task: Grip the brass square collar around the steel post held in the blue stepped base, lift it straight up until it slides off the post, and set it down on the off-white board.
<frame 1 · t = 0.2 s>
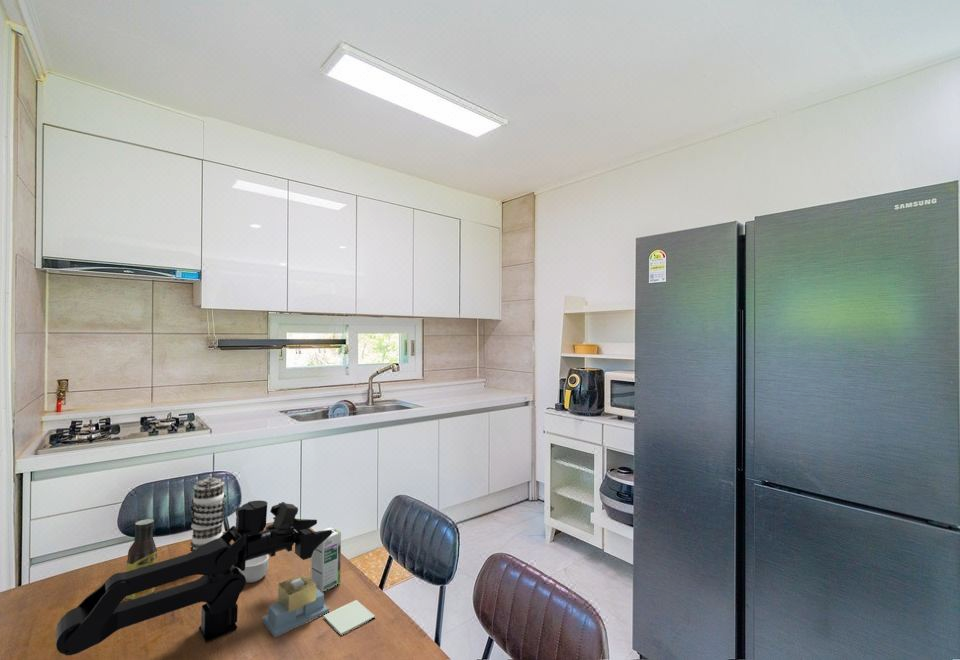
hand: (323, 526, 118), 16 cm above the table, tool horizontal, fingers open, 9 cm apart
syrup box: (325, 585, 119), on the table
teacup: (255, 577, 122), on the table
blue stepped base: (296, 616, 105), on the table
white patterned cylinder: (206, 563, 129), on the table
brass collar: (296, 600, 105), point 4 cm above the table, touching blue stepped base
off-white board: (349, 618, 105), on the table
sauce bottle: (140, 600, 111), on the table
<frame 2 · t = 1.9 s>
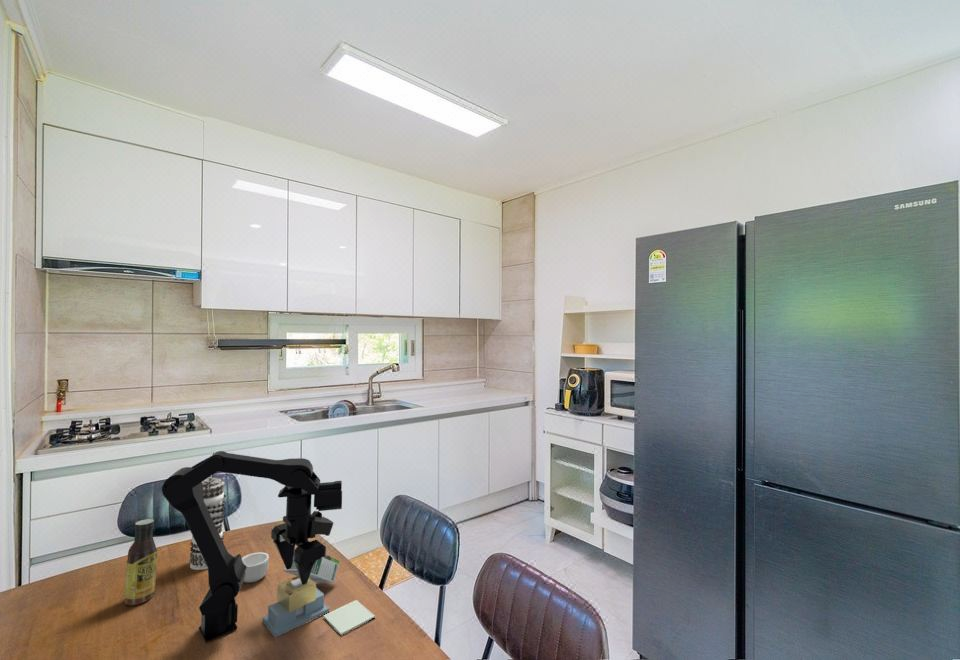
hand: (296, 575, 105), 10 cm above the table, tool pointing down, fingers open, 9 cm apart
syrup box: (329, 572, 120), point 3 cm above the table
everything else where it was.
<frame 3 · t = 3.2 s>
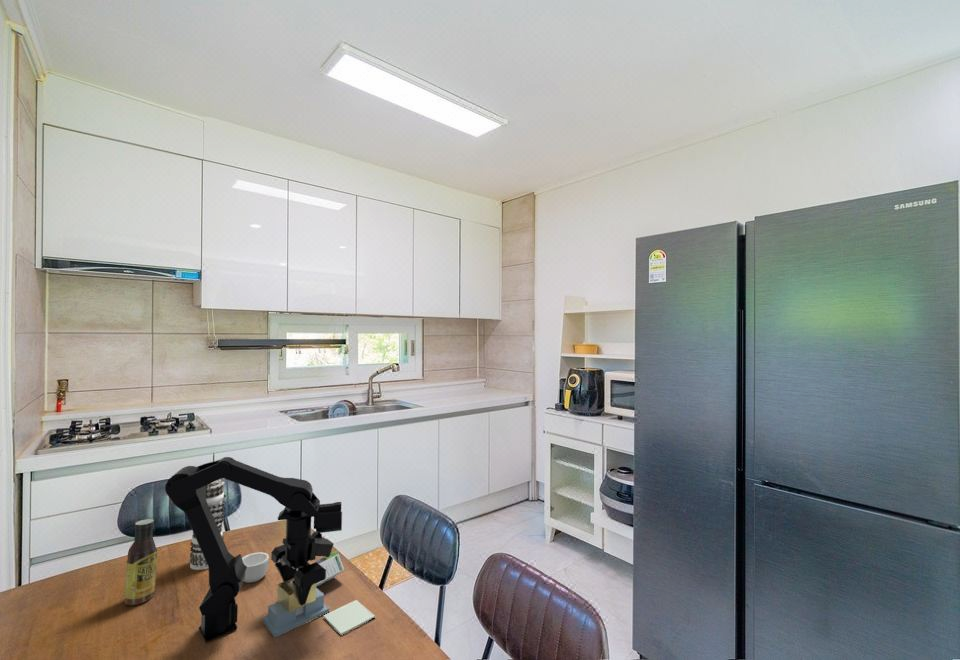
hand: (296, 598, 105), 4 cm above the table, tool pointing down, fingers closed on brass collar, 7 cm apart
syrup box: (336, 563, 123), point 4 cm above the table
brass collar: (296, 600, 105), point 4 cm above the table, touching gripper, blue stepped base
everything else where it was.
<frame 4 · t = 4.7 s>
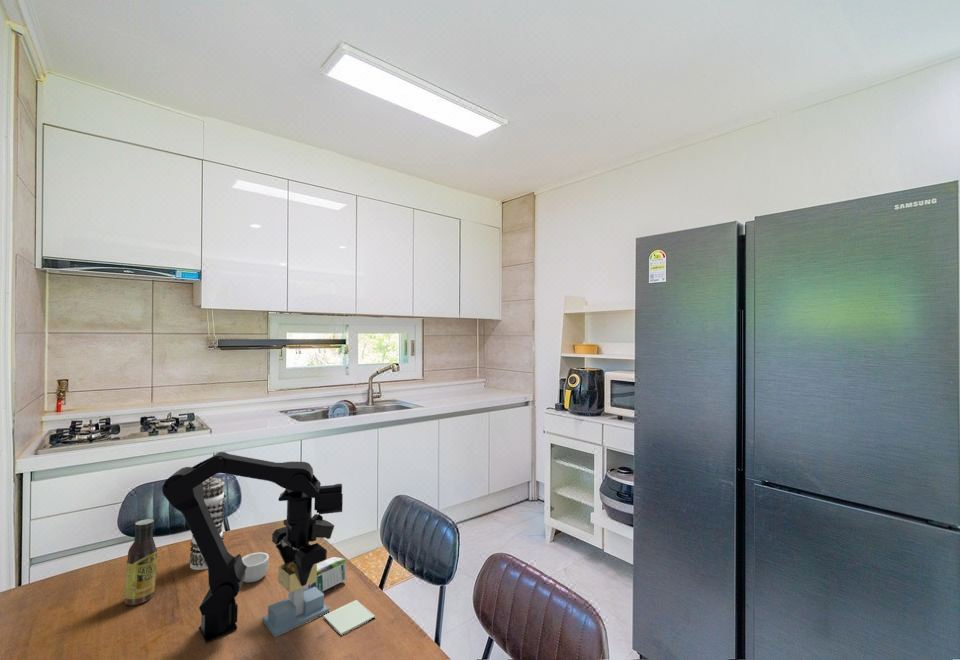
hand: (297, 579, 105), 9 cm above the table, tool pointing down, fingers closed on brass collar, 7 cm apart
syrup box: (340, 567, 122), point 3 cm above the table, touching blue stepped base
brass collar: (297, 582, 105), point 8 cm above the table, touching gripper
everything else where it was.
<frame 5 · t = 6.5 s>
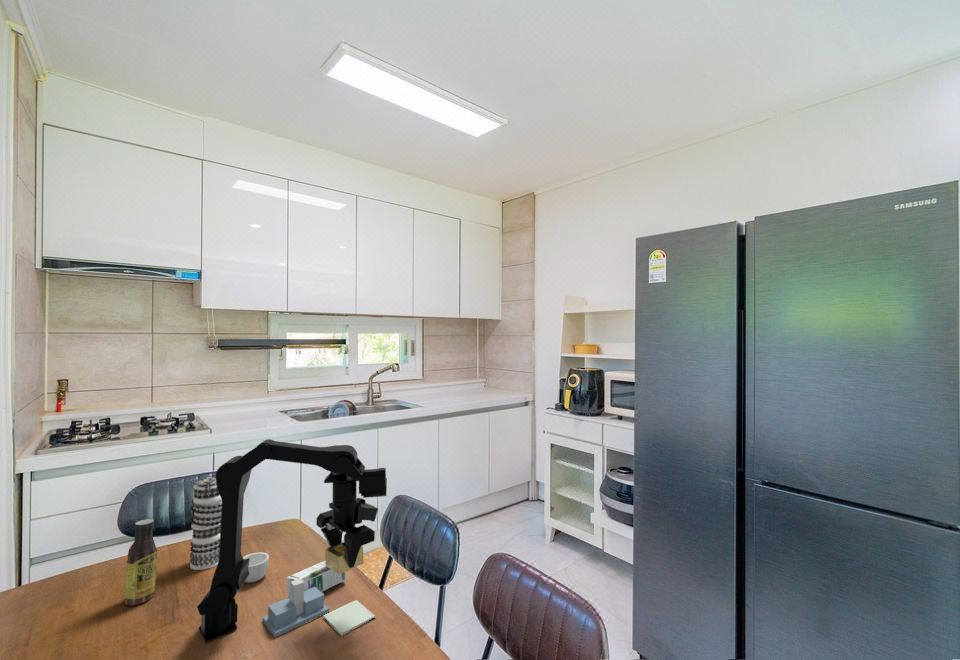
hand: (344, 562, 105), 14 cm above the table, tool pointing down, fingers closed on brass collar, 7 cm apart
brass collar: (344, 564, 105), point 13 cm above the table, touching gripper
everything else where it was.
when the fingers open (2 cm above the table, at t = 9.6 s): brass collar drops 1 cm, resting on off-white board.
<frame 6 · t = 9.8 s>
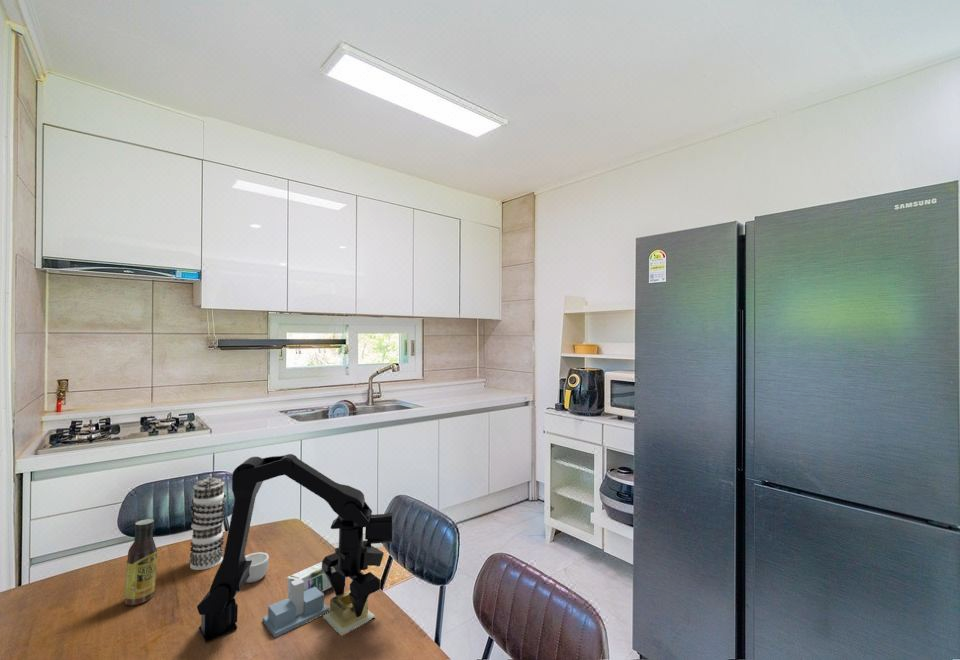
hand: (349, 607, 105), 2 cm above the table, tool pointing down, fingers open, 9 cm apart
brass collar: (348, 615, 105), point 1 cm above the table, touching off-white board
everything else where it was.
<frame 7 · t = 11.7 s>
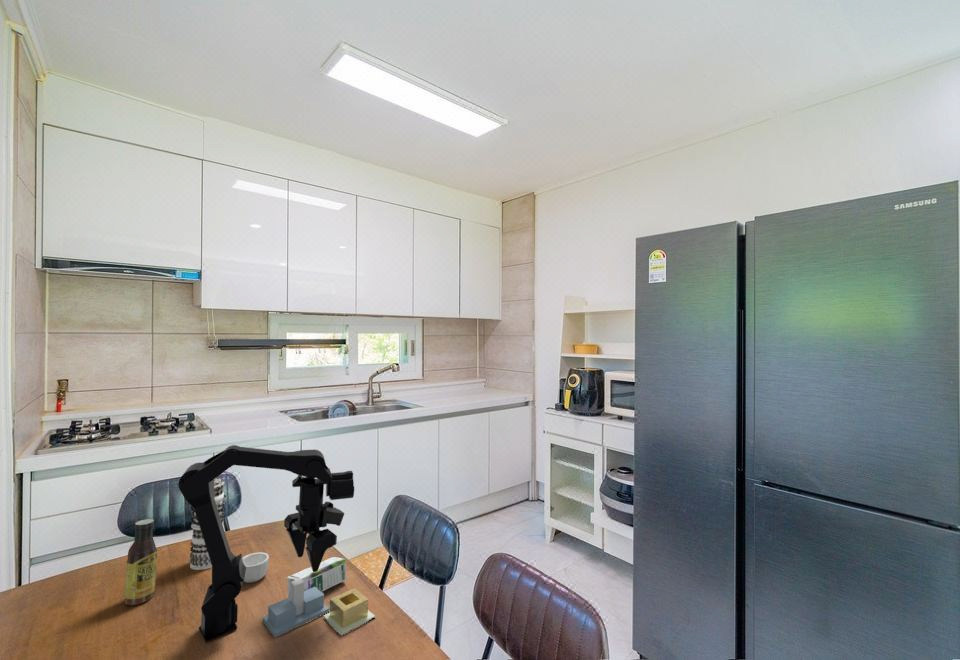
hand: (307, 563, 108), 12 cm above the table, tool pointing down, fingers open, 9 cm apart
nothing on the table moved.
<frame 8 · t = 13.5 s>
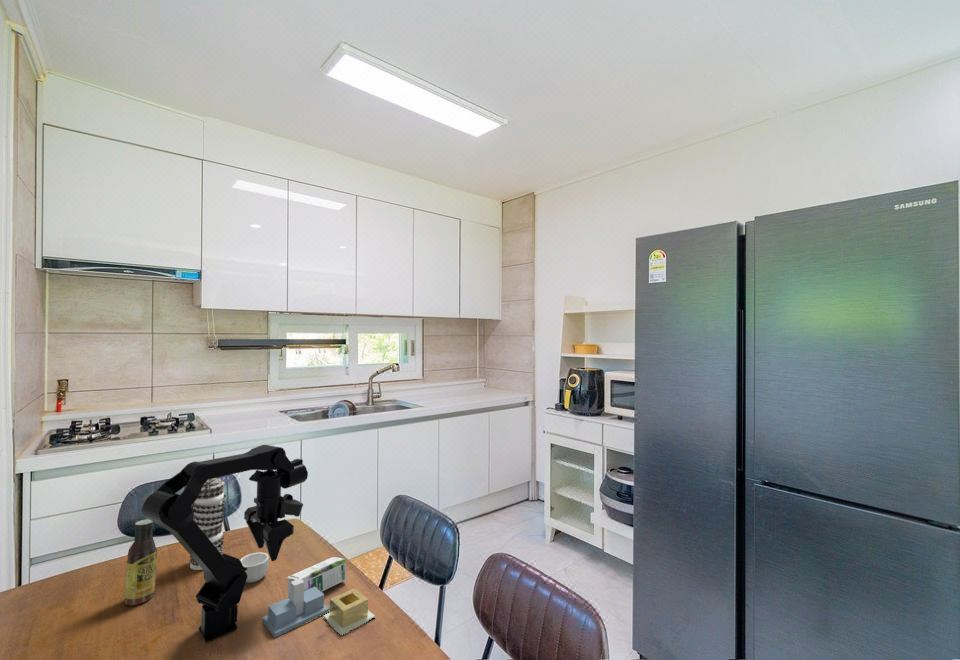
hand: (267, 554, 111), 12 cm above the table, tool pointing down, fingers open, 9 cm apart
nothing on the table moved.
at the end: brass collar 0.1 cm off-centre on the off-white board, point 0.6 cm above the off-white board's base; brass collar tilted 0°; the gripper is holding nothing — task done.
